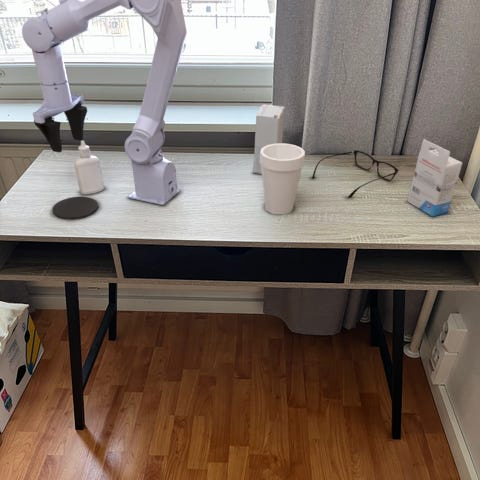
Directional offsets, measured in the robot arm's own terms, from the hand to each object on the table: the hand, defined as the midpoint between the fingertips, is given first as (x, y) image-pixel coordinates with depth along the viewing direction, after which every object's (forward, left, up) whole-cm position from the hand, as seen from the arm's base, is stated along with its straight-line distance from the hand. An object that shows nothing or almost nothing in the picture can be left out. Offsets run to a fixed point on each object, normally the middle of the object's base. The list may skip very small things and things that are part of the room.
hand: (68, 145), depth 114 cm
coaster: (-6, +9, -10) cm, 15 cm away
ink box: (-79, -24, -10) cm, 84 cm away
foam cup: (-48, -10, -10) cm, 50 cm away
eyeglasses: (-60, -31, -10) cm, 69 cm away
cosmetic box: (-38, -29, -10) cm, 49 cm away
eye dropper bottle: (-4, 0, -10) cm, 11 cm away
